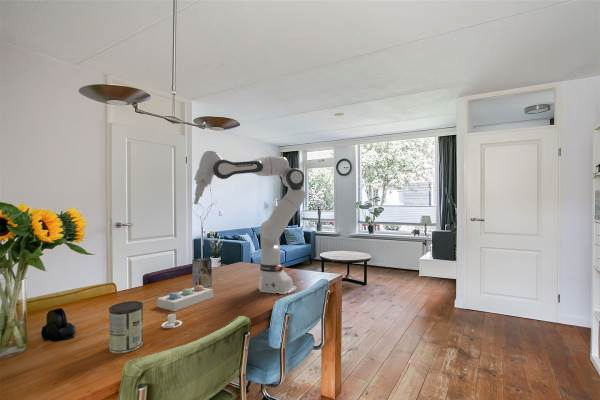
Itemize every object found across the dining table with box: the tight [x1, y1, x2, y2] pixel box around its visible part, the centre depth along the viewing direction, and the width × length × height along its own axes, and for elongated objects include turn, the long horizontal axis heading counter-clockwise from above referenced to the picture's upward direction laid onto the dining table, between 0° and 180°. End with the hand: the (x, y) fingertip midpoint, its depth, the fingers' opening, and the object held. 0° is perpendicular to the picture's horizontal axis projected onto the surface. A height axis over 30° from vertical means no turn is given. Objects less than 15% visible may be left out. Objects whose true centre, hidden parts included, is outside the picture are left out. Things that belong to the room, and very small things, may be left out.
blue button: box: [168, 291, 179, 300], centre depth 148 cm, size 4×4×3 cm
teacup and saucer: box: [160, 313, 183, 329], centre depth 127 cm, size 9×8×4 cm
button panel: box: [157, 286, 214, 312], centre depth 155 cm, size 24×12×4 cm, turn 150°
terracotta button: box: [194, 285, 203, 292], centre depth 161 cm, size 4×4×3 cm
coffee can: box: [108, 300, 144, 354], centre depth 108 cm, size 10×10×14 cm
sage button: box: [181, 288, 191, 296], centre depth 155 cm, size 4×4×3 cm
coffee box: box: [191, 257, 213, 288], centre depth 182 cm, size 9×6×16 cm
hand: (195, 203), depth 169 cm, fingers open, 8 cm apart
